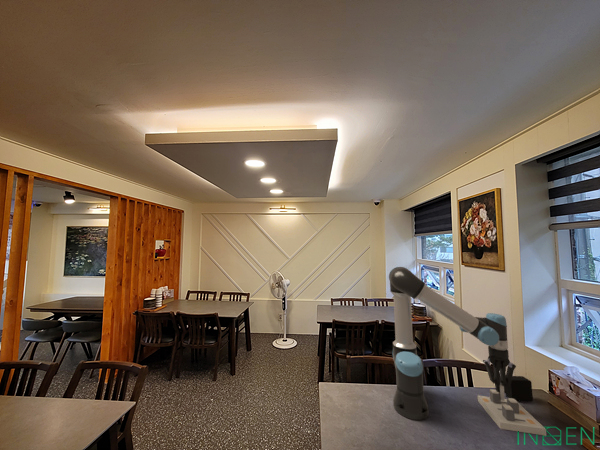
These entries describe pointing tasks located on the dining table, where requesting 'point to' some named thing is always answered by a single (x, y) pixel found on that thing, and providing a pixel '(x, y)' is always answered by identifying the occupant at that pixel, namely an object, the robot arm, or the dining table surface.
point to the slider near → (508, 412)
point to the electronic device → (520, 389)
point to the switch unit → (521, 423)
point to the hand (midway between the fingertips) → (501, 399)
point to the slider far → (494, 396)
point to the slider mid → (513, 404)
